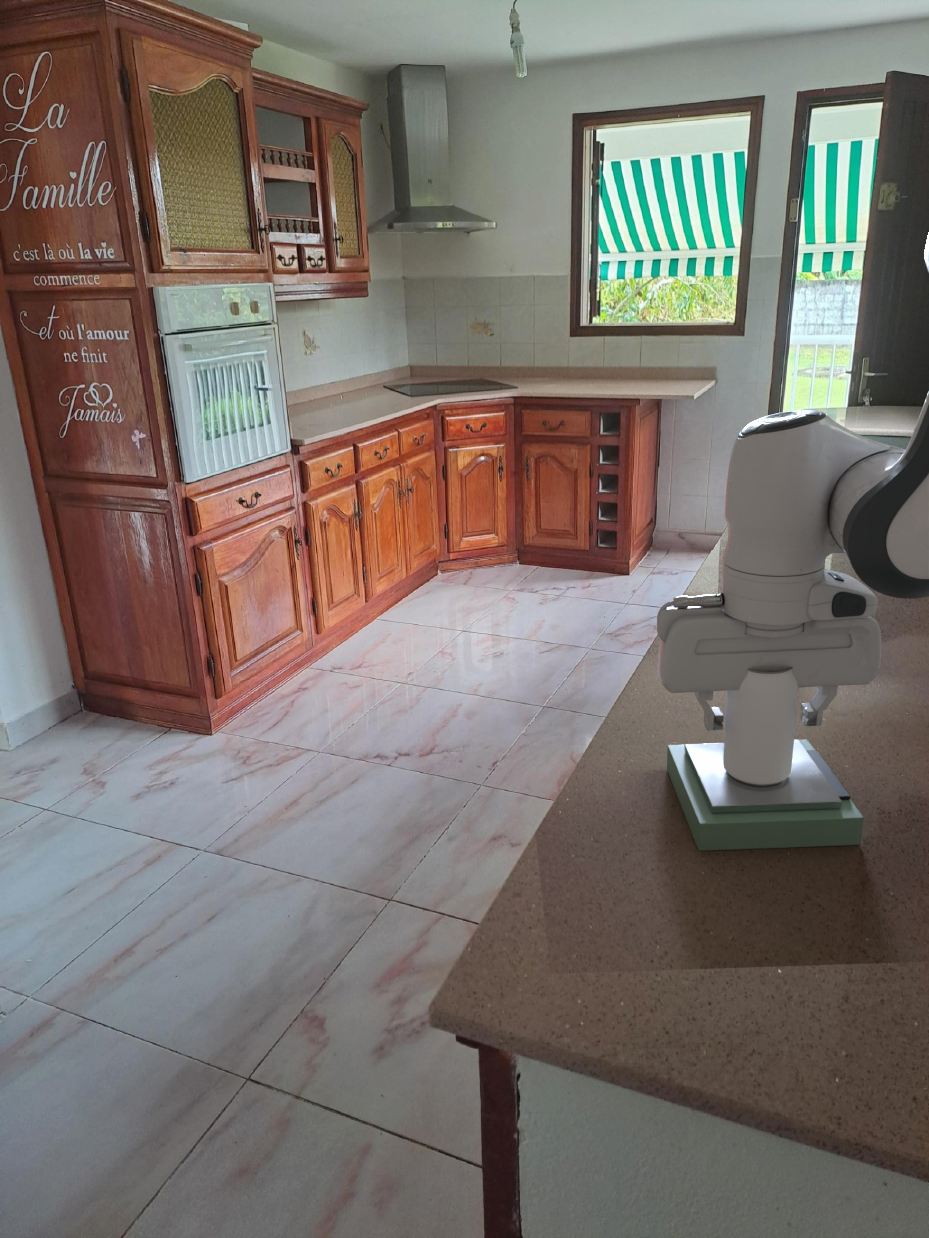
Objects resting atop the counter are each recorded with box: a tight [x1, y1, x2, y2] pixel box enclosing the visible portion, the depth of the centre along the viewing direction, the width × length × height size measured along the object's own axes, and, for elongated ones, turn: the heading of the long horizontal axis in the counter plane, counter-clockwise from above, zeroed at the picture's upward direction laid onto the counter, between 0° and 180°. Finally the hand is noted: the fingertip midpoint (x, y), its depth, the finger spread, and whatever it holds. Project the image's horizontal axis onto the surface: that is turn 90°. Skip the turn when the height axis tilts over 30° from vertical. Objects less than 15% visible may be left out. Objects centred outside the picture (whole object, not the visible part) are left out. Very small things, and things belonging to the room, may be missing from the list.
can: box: [723, 667, 799, 786], centre depth 86 cm, size 6×6×12 cm
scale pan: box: [684, 739, 842, 813], centre depth 88 cm, size 12×12×1 cm
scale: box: [666, 739, 864, 852], centre depth 88 cm, size 15×15×3 cm
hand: (761, 725), depth 86 cm, fingers open, 8 cm apart
